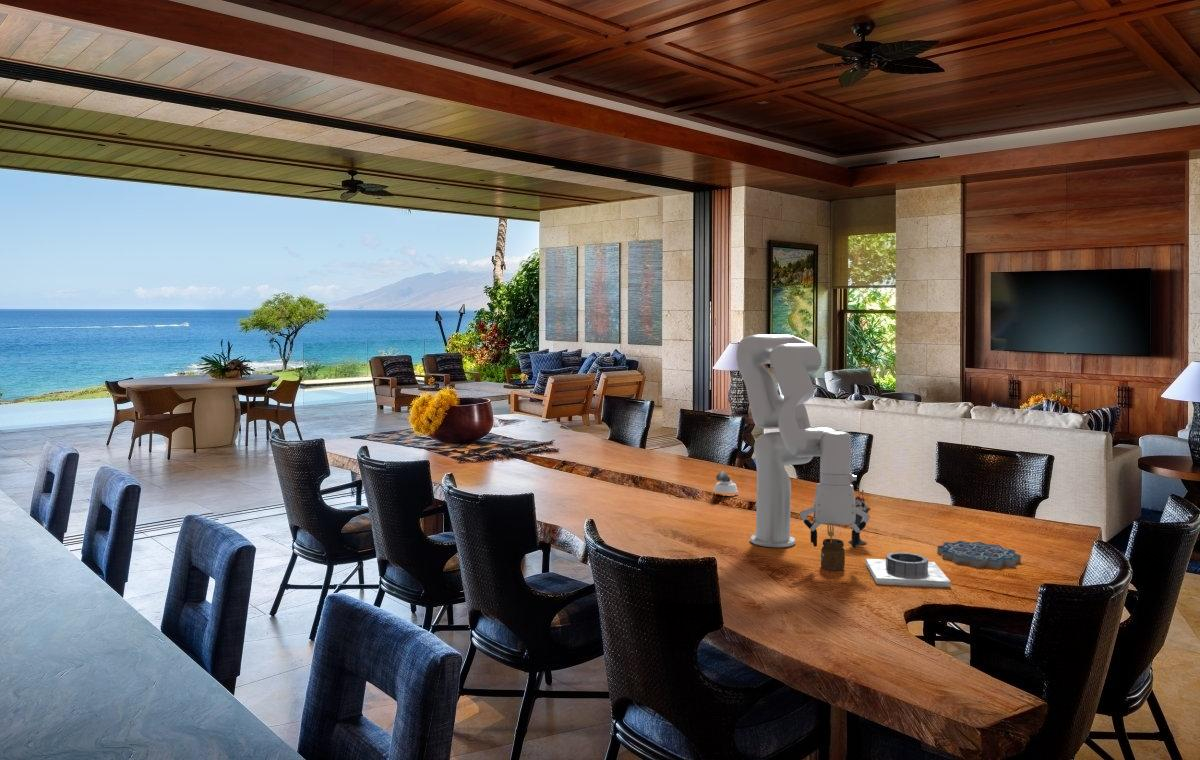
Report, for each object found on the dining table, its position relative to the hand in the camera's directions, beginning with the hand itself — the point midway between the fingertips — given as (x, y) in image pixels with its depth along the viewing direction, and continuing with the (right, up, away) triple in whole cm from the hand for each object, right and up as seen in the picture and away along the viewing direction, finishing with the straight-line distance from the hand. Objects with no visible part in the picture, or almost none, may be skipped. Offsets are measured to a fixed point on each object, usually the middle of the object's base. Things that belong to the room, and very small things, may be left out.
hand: (834, 546), depth 217 cm
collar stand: (+16, -6, -5) cm, 18 cm away
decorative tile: (+42, -6, +12) cm, 44 cm away
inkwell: (-15, 0, +89) cm, 90 cm away
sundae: (+14, -4, +26) cm, 30 cm away
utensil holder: (0, -6, +1) cm, 6 cm away
